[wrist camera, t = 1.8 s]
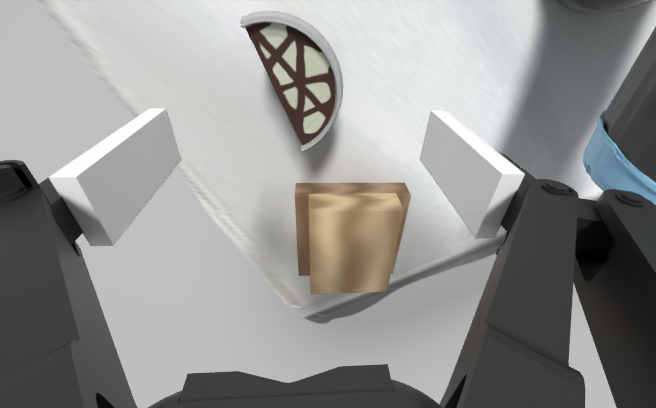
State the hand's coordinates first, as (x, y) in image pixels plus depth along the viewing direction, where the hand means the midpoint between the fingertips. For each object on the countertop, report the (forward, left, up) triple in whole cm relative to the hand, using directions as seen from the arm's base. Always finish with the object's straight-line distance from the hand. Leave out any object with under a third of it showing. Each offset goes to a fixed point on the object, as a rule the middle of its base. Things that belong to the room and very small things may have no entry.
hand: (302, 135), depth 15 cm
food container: (0, 0, -22) cm, 22 cm away
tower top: (-6, +24, -18) cm, 31 cm away
